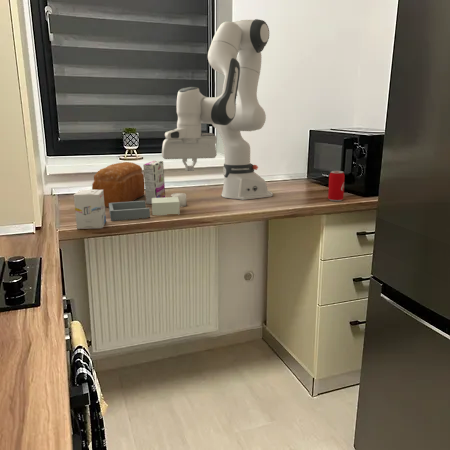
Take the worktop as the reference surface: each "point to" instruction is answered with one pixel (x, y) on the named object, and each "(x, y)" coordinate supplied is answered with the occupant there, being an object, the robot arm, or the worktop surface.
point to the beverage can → (336, 186)
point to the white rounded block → (180, 198)
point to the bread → (120, 182)
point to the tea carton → (165, 206)
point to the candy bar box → (154, 180)
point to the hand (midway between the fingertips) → (189, 170)
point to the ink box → (89, 209)
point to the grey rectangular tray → (128, 210)
